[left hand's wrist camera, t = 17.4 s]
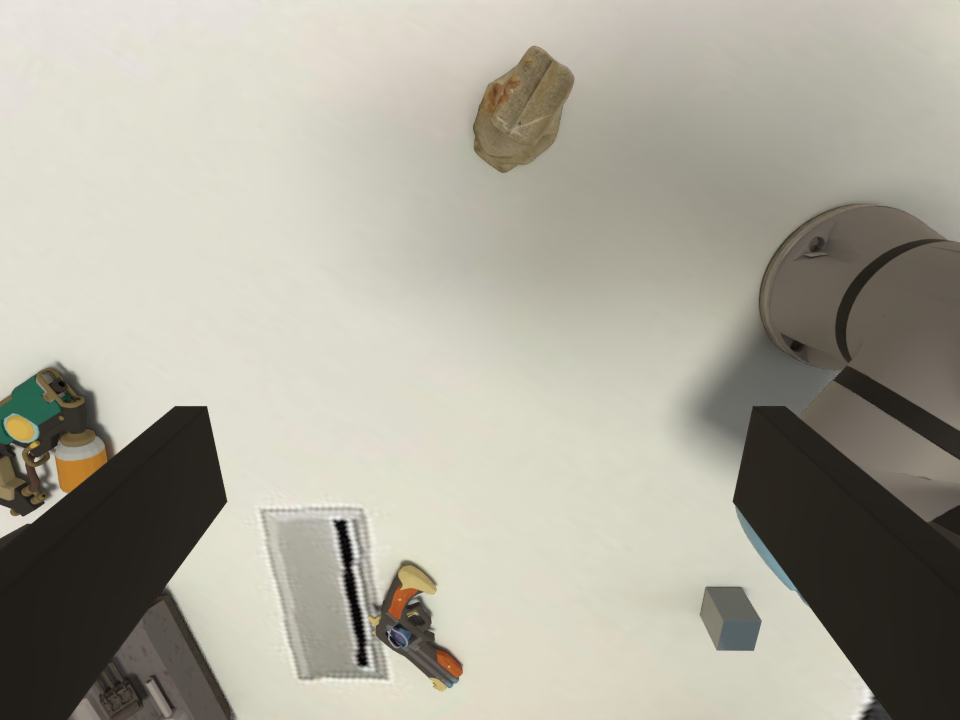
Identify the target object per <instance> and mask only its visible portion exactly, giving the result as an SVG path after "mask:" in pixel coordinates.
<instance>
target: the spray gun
mask: <svg viewBox="0 0 960 720" xmlns="http://www.w3.org/2000/svg"><path fill="white" fill-rule="evenodd" d="M44 372H50V373H52V374H53V375H54V376H55V377H56V379H57V380H53V379H52V378H51V376H49V375H47V374H44ZM66 392H69V394H70V395H71V396H72V397H73V398H74V399H76V400H72V401H70V398H71V396H70V395H69V394H65V393H66ZM77 400H78V401H77ZM84 402H85V401H84V397H82V396H77V395H76V393H75V392H74V391H73V390H72V389H71V388H70V386H69V385H68V384H67V383H66V382H65V381H64V379H63V378H62V377H61V376H60V375H59V374H58V372H57V371H56V370H54V369H52V368H46V369H44V370H41V371H40V372H38V373H37V374H36V375H34V376H33V377H31V378H30V379H28V380H27V381H25V382H23V383H22V384H20V385H19V386H17V387H16V388H15V389H14V390H13V391H12V394H11V395H10V396H8V397H7V398H5V399H4V400H2V401H1V402H0V505H3V506H5V507H8V508H11V510H10V513H11V515H13V516H18V515H20V514H21V515H22V516H25V515H27V514H29V513H30V512H32V511H34V510H36V509H37V508H39V507H40V506H41V505H43V504H44V503H45V502H44V500H45V499H46V498H47V494H46V493H39V492H38V491H37V490H38V487H39V485H40V482H39V478H38V476H37V473H36V471H35V468H34V467H37V466H39V465H42V464H44V463H45V462H46V461H47V460H49V458H50V454H49V452H48V451H49V450H51V449H52V448H54V447H56V446H57V448H56V452H55V460H56V466H57V472H58V478H59V485H60V488H61V489H62V491H63V492H65V493H70V492H71V491H72V490H73V489H75V488H76V487H77V486H78V485H79V484H81V483H82V482H83V481H84V480H86V479H87V478H88V477H89V476H90V475H92V474H93V473H94V472H95V471H97V470H98V469H99V468H100V467H101V466H103V465H104V464H105V463H106V462H107V456H106V449H105V445H104V443H103V441H102V440H101V439H100V438H99V437H97V436H95V432H94V431H93V430H90V429H86V417H85V404H84ZM63 430H66V431H68V432H66V433H65V434H63V435H62V436H61V443H59V444H58V438H59V433H60V432H62V431H63ZM11 442H13V443H15V444H17V445H19V446H22V447H24V448H25V449H24V450H23V452H22V456H23V459H24V461H25V466H26V470H27V474H28V476H29V478H30V480H31V484H30V485H28V484H27V483H26V482H25V481H24V480H23V479H19V478H17V477H16V476H15V473H14V470H13V467H12V464H11V461H10V458H9V457H14V456H15V453H13V452H12V451H11V450H10V445H9V444H10V443H11ZM57 444H58V445H57ZM29 451H30V453H29V454H28V452H29ZM42 454H43V455H44V458H43V459H41V460H40V461H38V462H34V459H35V457H39V456H41V455H42Z"/></svg>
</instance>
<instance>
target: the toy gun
mask: <svg viewBox="0 0 960 720" xmlns="http://www.w3.org/2000/svg"><path fill="white" fill-rule="evenodd" d="M436 591H437V589H436V587H435V585H434V584H433V583H432V582H431V580H430V579H429V578H428V577H427V576H426V575H425V574H424V573H423V572H421V571H420V570H419V569H417V568H416V567H413V566H411V565H407V566H404V567H402V568H401V569H400V570H399V571H398V576H397V577H396V578H395V580H394V582H393V583H392V586H391V588H390V590H389V593H388V596H387V598H386V599H385V600H384V601H383V605H382V613H381V615H379V616H377V617H373V616H371V615H369V620H370V622H371V623H372V626H374V625H377V626H376V630H375V631H373V632H372V633H373V634H374V635H376V636H377V637H378V638H379V639H380V640H381V641H382V642H384V643H385V644H386V645H387V646H388V647H390V648H391V649H392V650H394V651H396V652H397V653H399V654H401V655H403V656H405V657H406V658H407V659H408V660H410V661H411V662H412V663H413V664H414V665H415V666H417V667H418V668H419V669H420V670H421V671H422V672H423V673H424V674H425V675H426V676H428V678H429V679H430V680H431V681H433V684H435V685H434V686H433V688H435V689H437V690H439V691H444V690H445V689H446V688H447V687H448V688H451V687H452V686H453V684H454V683H457V682H458V681H459V676H461V674H462V673H463V670H462V667H461V666H460V665H459V664H458V663H457V662H456V661H455V660H454V659H453V658H452V657H451V656H450V655H449V654H448V653H446V652H443V651H440V650H438V649H434V648H433V647H432V646H431V645H430V644H429V643H428V642H427V641H435V637H434V633H432V632H430V631H428V630H426V629H428V628H429V627H430V625H431V617H430V616H429V615H428V614H427V613H426V612H425V611H424V609H423V607H422V605H421V603H420V602H417V603H415V604H412V605H407V604H408V602H409V601H410V599H411V598H412V597H414V596H416V595H417V594H420V593H422V592H426V593H429V594H434V593H435V592H436ZM413 610H417V611H413ZM418 613H419V615H420V616H421V618H422V619H423V621H421V622H416V621H415V620H414V619H413V618H411V617H410V616H412V615H414V614H416V615H418ZM408 614H409V615H408ZM398 623H400V624H398ZM397 624H398V625H397ZM388 630H389V634H388V633H387V631H388ZM390 634H391V636H392V637H391V636H390Z"/></svg>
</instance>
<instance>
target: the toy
mask: <svg viewBox="0 0 960 720" xmlns="http://www.w3.org/2000/svg"><path fill="white" fill-rule="evenodd" d="M68 720H230V709H229V707H228V705H227V703H226V701H225V699H224V698H223V696H222V694H221V692H220V690H219V688H218V686H217V684H216V682H215V681H214V679H213V677H212V675H211V673H210V671H209V669H208V667H207V666H206V664H205V662H204V660H203V658H202V656H201V654H200V652H199V650H198V649H197V647H196V645H195V643H194V641H193V639H192V637H191V635H190V633H189V632H188V630H187V628H186V626H185V624H184V622H183V620H182V618H181V617H180V615H179V613H178V611H177V609H176V607H175V605H174V603H173V601H172V600H171V598H170V596H168V595H165V596H158V597H157V598H156V600H155V601H154V602H153V604H152V605H151V607H150V608H149V609H148V611H147V612H146V613H145V615H144V616H143V617H142V619H141V620H140V622H139V623H138V624H137V626H136V627H135V628H134V630H133V631H132V632H131V634H130V635H129V637H128V638H127V639H126V641H125V642H124V643H123V645H122V646H121V647H120V649H119V650H118V652H117V653H116V654H115V656H114V657H113V658H112V660H111V661H110V662H109V664H108V665H107V667H106V668H105V669H104V671H103V672H102V673H101V675H100V676H99V677H98V679H97V680H96V682H95V683H94V684H93V686H92V687H91V688H90V690H89V691H88V693H87V694H86V695H85V697H84V698H83V699H82V701H81V702H80V703H79V705H78V706H77V708H76V709H75V710H74V712H73V713H72V714H71V716H70V717H69V718H68Z"/></svg>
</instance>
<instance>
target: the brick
mask: <svg viewBox="0 0 960 720" xmlns="http://www.w3.org/2000/svg"><path fill="white" fill-rule="evenodd" d="M700 616H701V618H702V620H703V622H704V625H705V627H706V629H707V631H708V633H709V635H710V637H711V639H712V641H713V643H714V646H715V648H716V650H730V651H754V648H755V644H756V641H757V637H758V633H759V629H760V626H761V622H762V621H761V619H760V617H759V616H758V614H757V612H756V611H755V609H754V608H753V606H752V604H751V603H750V601H749V599H748V598H747V596H746V594H745V593H744V591H743V589H742V588H741V587H706V590H705V595H704V599H703V604H702V609H701V614H700Z"/></svg>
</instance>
